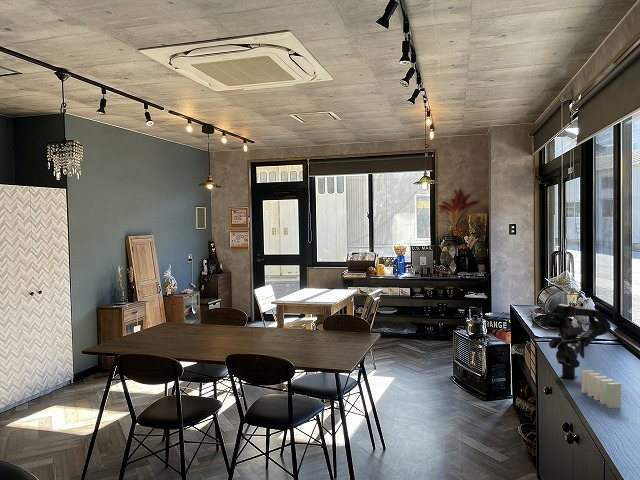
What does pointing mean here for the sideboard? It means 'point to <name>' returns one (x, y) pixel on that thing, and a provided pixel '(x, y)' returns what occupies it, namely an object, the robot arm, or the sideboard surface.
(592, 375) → the domino
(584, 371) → the domino
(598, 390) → the domino
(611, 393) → the domino
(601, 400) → the domino
